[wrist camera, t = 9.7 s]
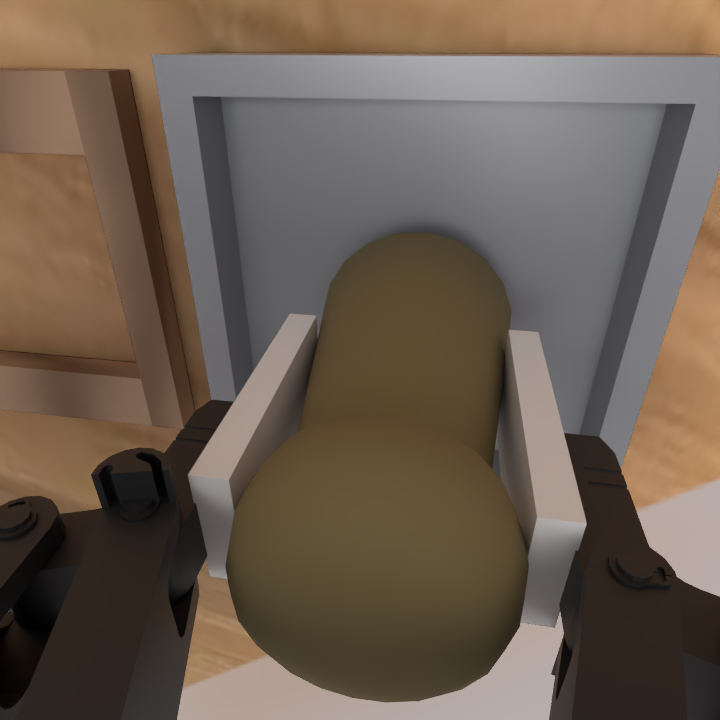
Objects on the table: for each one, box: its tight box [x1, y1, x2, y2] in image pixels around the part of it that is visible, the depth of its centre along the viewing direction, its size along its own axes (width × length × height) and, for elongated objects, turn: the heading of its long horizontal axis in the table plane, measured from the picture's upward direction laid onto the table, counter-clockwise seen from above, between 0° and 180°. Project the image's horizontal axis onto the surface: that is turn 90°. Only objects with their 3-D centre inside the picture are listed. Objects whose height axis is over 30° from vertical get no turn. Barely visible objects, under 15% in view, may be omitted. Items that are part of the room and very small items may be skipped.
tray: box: [152, 52, 720, 479], centre depth 19 cm, size 15×15×3 cm
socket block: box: [0, 68, 195, 429], centre depth 22 cm, size 12×14×1 cm
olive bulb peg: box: [225, 233, 529, 702], centre depth 13 cm, size 6×6×11 cm
